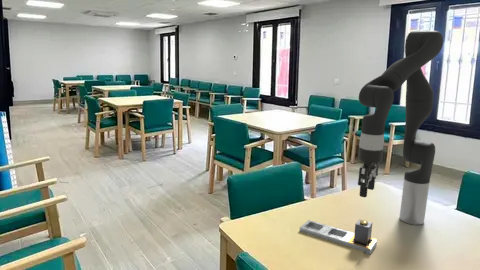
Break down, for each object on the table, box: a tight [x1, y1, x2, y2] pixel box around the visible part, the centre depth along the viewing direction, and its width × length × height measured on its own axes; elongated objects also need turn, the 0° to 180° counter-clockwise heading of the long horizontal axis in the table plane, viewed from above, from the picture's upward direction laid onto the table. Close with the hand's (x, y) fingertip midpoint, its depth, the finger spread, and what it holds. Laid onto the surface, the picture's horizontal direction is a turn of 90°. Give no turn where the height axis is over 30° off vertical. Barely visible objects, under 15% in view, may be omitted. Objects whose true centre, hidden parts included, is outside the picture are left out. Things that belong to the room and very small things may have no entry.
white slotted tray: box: [299, 219, 378, 256], centre depth 132 cm, size 8×26×2 cm, turn 55°
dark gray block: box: [354, 219, 373, 247], centre depth 126 cm, size 4×4×9 cm
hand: (366, 192), depth 123 cm, fingers open, 8 cm apart
